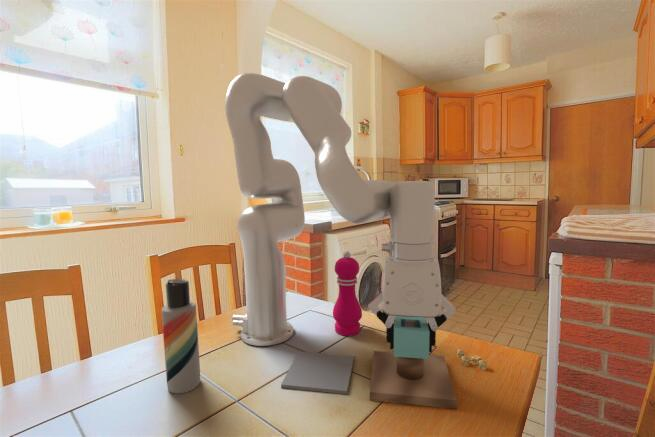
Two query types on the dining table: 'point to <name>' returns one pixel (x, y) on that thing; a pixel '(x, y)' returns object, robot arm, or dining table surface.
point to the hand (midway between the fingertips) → (410, 346)
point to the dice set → (474, 360)
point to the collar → (411, 338)
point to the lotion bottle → (180, 338)
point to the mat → (319, 372)
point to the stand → (411, 379)
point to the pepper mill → (347, 297)
